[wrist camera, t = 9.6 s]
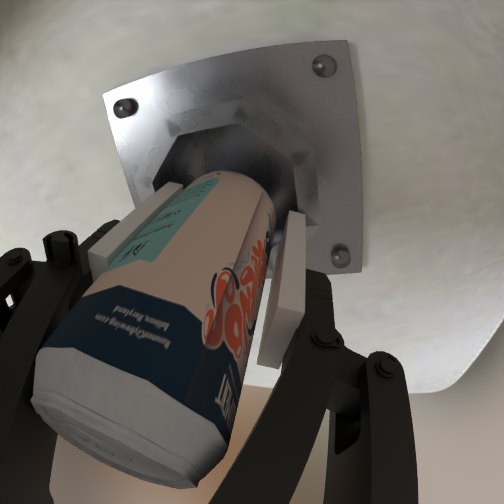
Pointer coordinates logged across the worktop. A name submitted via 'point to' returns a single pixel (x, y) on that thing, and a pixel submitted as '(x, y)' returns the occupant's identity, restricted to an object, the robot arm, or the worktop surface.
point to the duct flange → (256, 138)
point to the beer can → (164, 337)
